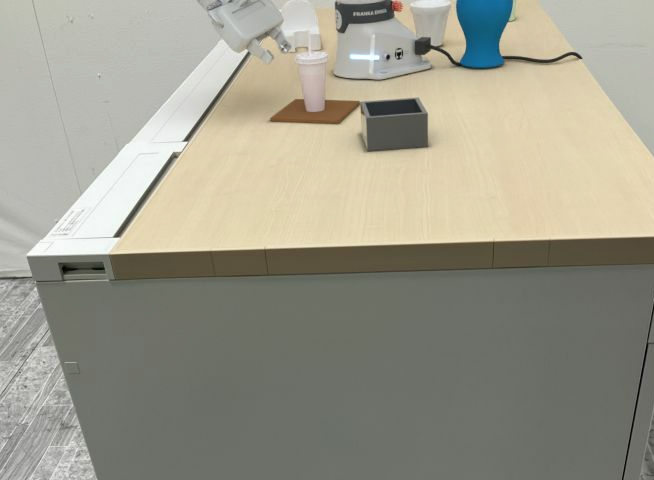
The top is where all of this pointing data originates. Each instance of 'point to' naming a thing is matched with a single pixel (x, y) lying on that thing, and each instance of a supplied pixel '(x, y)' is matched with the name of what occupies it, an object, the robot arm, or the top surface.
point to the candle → (513, 11)
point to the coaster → (331, 113)
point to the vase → (483, 30)
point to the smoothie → (312, 77)
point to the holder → (394, 124)
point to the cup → (431, 19)
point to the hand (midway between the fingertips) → (280, 56)
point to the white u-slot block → (300, 24)
